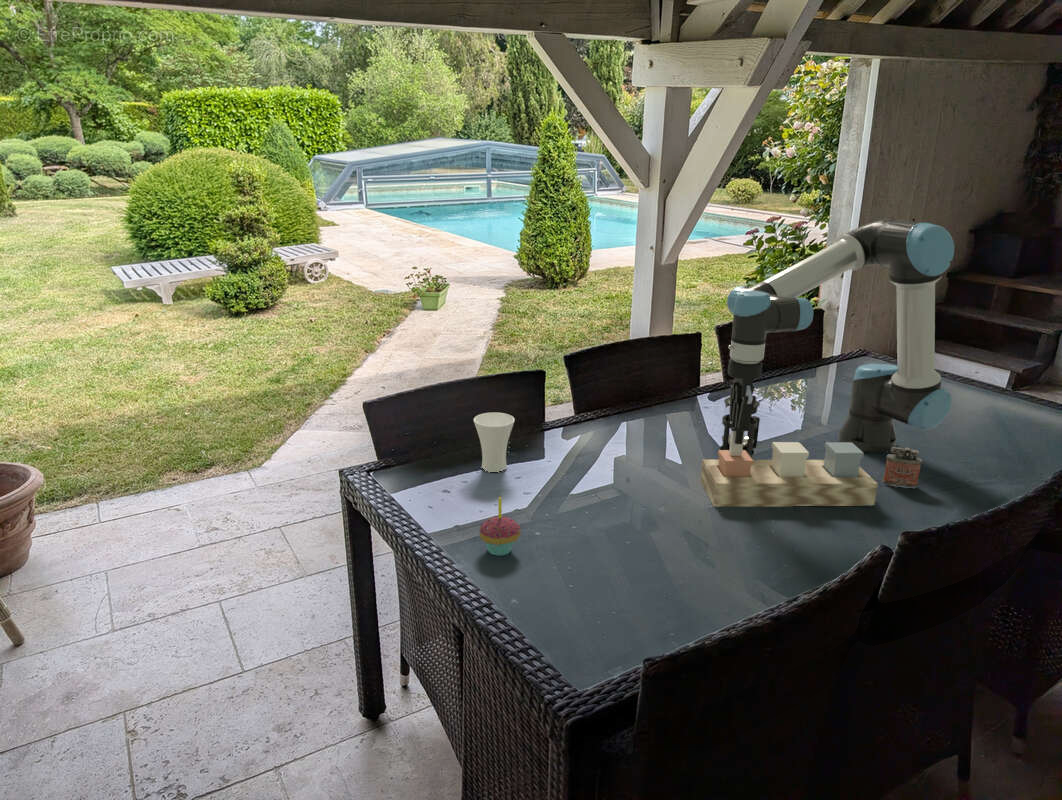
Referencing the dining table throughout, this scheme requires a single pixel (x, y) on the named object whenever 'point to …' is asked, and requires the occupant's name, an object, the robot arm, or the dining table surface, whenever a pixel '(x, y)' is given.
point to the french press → (749, 440)
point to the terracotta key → (734, 464)
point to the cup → (494, 439)
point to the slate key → (842, 459)
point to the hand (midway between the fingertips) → (735, 454)
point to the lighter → (902, 467)
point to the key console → (786, 487)
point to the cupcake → (499, 533)
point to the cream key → (789, 459)
